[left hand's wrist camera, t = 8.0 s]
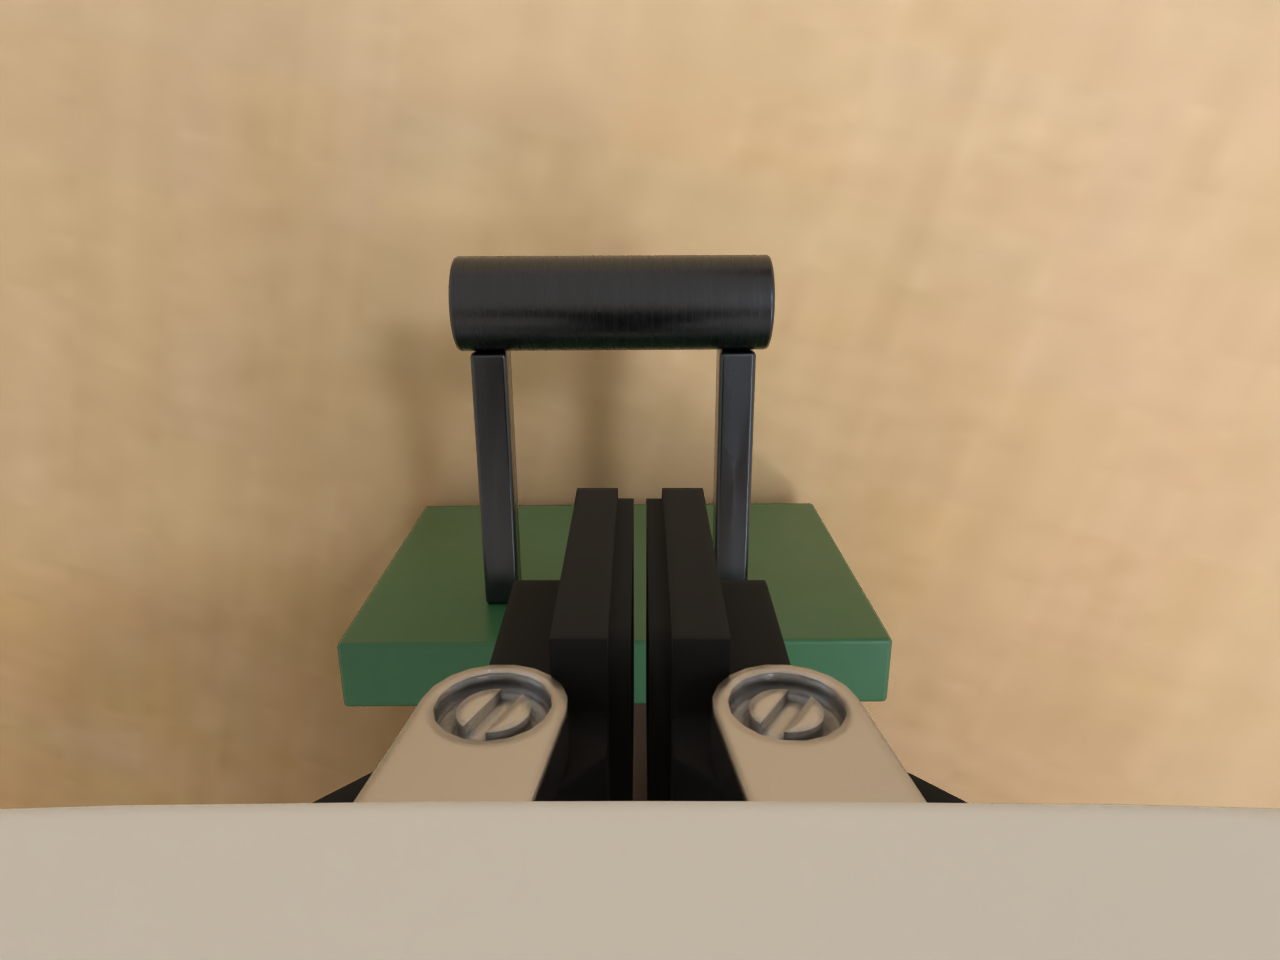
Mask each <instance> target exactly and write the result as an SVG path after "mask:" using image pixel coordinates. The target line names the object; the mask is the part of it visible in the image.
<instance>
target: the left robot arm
mask: <svg viewBox="0 0 1280 960" xmlns="http://www.w3.org/2000/svg"><path fill="white" fill-rule="evenodd" d="M633 744H634V499H618V488H578V489H577V493H576V498H575V503H574V509H573V514H572V519H571V525H570V530H569V535H568V541H567V546H566V551H565V557H564V562H563V567H562V573H561V578H560V580H515V581H514V583H513V586H512V589H511V593H510V596H509V600H508V603H507V606H506V610H505V613H504V617H503V620H502V623H501V627H500V630H499V633H498V637H497V640H496V644H495V647H494V650H493V654H492V657H491V661H490V664H489V666H483V667H477V668H471V669H468V670H465V671H462V672H460V673H457V674H454V675H451V676H449V677H448V678H446V679H444V680H443V681H441V682H439V683H438V684H436V685H434V686H433V687H432V688H431V689H430V690H429V691H428V692H427V694H426V695H425V696H424V697H423V698H422V699H421V701H420V702H419V704H418V705H417V707H416V708H415V710H414V711H413V713H412V714H411V716H410V717H409V719H408V720H407V722H406V723H405V725H404V726H403V728H402V729H401V731H400V732H399V734H398V735H397V737H396V738H395V740H394V741H393V743H392V744H391V746H390V747H389V749H388V750H387V752H386V753H385V755H384V756H383V758H382V760H381V761H380V763H379V764H378V766H377V767H376V769H375V770H374V772H372V773H370V774H368V775H366V776H364V777H362V778H360V779H358V780H356V781H354V782H352V783H351V784H349V785H347V786H345V787H343V788H341V789H339V790H337V791H335V792H333V793H331V794H329V795H327V796H325V797H323V798H321V799H319V800H317V801H315V802H313V803H272V804H180V805H110V806H78V807H46V808H15V809H0V960H1280V809H1271V808H1234V807H1197V806H1160V805H1124V804H1012V803H967V802H965V801H963V800H961V799H959V798H957V797H955V796H953V795H951V794H949V793H947V792H945V791H943V790H941V789H939V788H937V787H935V786H933V785H931V784H929V783H928V782H926V781H924V780H922V779H920V778H918V777H916V776H914V775H912V774H910V773H908V772H906V770H905V769H904V767H903V766H902V764H901V763H900V761H899V760H898V758H897V756H896V755H895V753H894V752H893V750H892V749H891V747H890V746H889V744H888V743H887V741H886V740H885V738H884V737H883V735H882V734H881V732H880V731H879V729H878V728H877V726H876V725H875V723H874V722H873V720H872V719H871V717H870V716H869V714H868V713H867V711H866V710H865V708H864V707H863V705H862V704H861V702H860V701H859V699H858V698H857V697H856V696H855V695H854V694H853V692H852V691H851V690H850V689H849V688H848V687H847V686H846V685H844V684H842V683H841V682H839V681H837V680H836V679H834V678H832V677H831V676H829V675H826V674H823V673H820V672H818V671H815V670H812V669H809V668H803V667H797V666H791V664H790V661H789V657H788V654H787V650H786V647H785V644H784V640H783V637H782V633H781V630H780V627H779V623H778V620H777V617H776V613H775V610H774V606H773V603H772V600H771V596H770V593H769V589H768V586H767V583H766V581H765V580H720V578H719V573H718V567H717V562H716V557H715V551H714V546H713V541H712V535H711V530H710V525H709V519H708V514H707V509H706V503H705V498H704V493H703V489H702V488H662V499H646V744H647V801H633Z"/></svg>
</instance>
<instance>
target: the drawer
mask: <svg viewBox="0 0 1280 960" xmlns="http://www.w3.org/2000/svg"><path fill="white" fill-rule="evenodd" d="M774 309H775V283H774V271H773V265H772V262H771V259H770V257H769V256H767V255H658V256H458V257H456V258H454V260H453V262H452V265H451V269H450V276H449V313H450V322H451V329H452V334H453V338H454V341H455V344H456V346H457V348H458V349H459V350H461V351H474V352H473V353H472V354H471V372H472V388H473V404H474V420H475V436H476V451H477V467H478V483H479V499H480V506H428V507H426V508H425V510H424V511H423V513H422V514H421V516H420V518H419V519H418V521H417V522H416V524H415V525H414V527H413V528H412V530H411V532H410V533H409V535H408V536H407V538H406V539H405V541H404V542H403V544H402V546H401V547H400V549H399V550H398V552H397V553H396V555H395V556H394V558H393V560H392V561H391V563H390V564H389V566H388V567H387V569H386V570H385V572H384V574H383V575H382V577H381V578H380V580H379V581H378V583H377V584H376V586H375V588H374V589H373V591H372V592H371V594H370V595H369V597H368V598H367V600H366V602H365V603H364V605H363V606H362V608H361V609H360V611H359V612H358V614H357V615H356V617H355V619H354V620H353V622H352V623H351V625H350V626H349V628H348V629H347V631H346V633H345V634H344V636H343V637H342V639H341V640H340V642H339V643H338V646H337V647H338V655H339V663H340V671H341V680H342V688H343V696H344V703H345V705H346V706H417V705H418V704H419V702H420V701H421V699H422V698H423V697H424V696H425V695H426V694H427V692H428V691H429V690H430V689H431V688H432V687H433V686H434V685H436V684H438V683H439V682H441V681H443V680H444V679H446V678H448V677H449V676H451V675H454V674H457V673H460V672H462V671H465V670H468V669H471V668H477V667H483V666H489V664H490V661H491V657H492V654H493V650H494V647H495V644H496V640H497V637H498V633H499V630H500V627H501V623H502V620H503V617H504V613H505V610H506V606H507V603H508V600H509V596H510V593H511V589H512V586H513V583H514V581H515V580H560V578H561V573H562V567H563V562H564V557H565V551H566V546H567V541H568V535H569V530H570V525H571V519H572V514H573V509H574V505H550V506H518V494H517V474H516V453H515V433H514V413H513V392H512V372H511V352H510V351H533V350H708V349H718V350H717V369H716V412H715V456H714V499H713V504H706V509H707V514H708V519H709V525H710V530H711V535H712V541H713V546H714V551H715V557H716V562H717V567H718V573H719V578H720V580H765V581H766V583H767V586H768V589H769V593H770V596H771V600H772V603H773V606H774V610H775V613H776V617H777V620H778V623H779V627H780V630H781V633H782V637H783V640H784V644H785V647H786V650H787V654H788V657H789V661H790V664H791V666H797V667H803V668H809V669H812V670H815V671H818V672H820V673H823V674H826V675H829V676H831V677H832V678H834V679H836V680H837V681H839V682H841V683H842V684H844V685H846V686H847V687H848V688H849V689H850V690H851V691H852V692H853V694H854V695H855V696H856V697H857V698H858V699H859V701H885V700H886V697H887V689H888V678H889V667H890V657H891V646H892V640H891V638H890V636H889V635H888V633H887V631H886V629H885V628H884V626H883V624H882V623H881V621H880V619H879V618H878V616H877V614H876V612H875V611H874V609H873V607H872V606H871V604H870V602H869V600H868V599H867V597H866V595H865V594H864V592H863V590H862V588H861V587H860V585H859V583H858V582H857V580H856V578H855V576H854V575H853V573H852V571H851V570H850V568H849V566H848V565H847V563H846V561H845V559H844V558H843V556H842V554H841V553H840V551H839V549H838V547H837V546H836V544H835V542H834V541H833V539H832V537H831V535H830V534H829V532H828V530H827V529H826V527H825V525H824V523H823V522H822V520H821V518H820V517H819V515H818V513H817V512H816V510H815V508H814V506H813V505H812V504H750V499H751V472H752V445H753V418H754V391H755V363H756V355H755V352H754V351H753V350H752V349H766V348H767V347H768V346H769V343H770V340H771V336H772V331H773V323H774ZM633 801H647V744H646V505H634V744H633Z"/></svg>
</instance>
